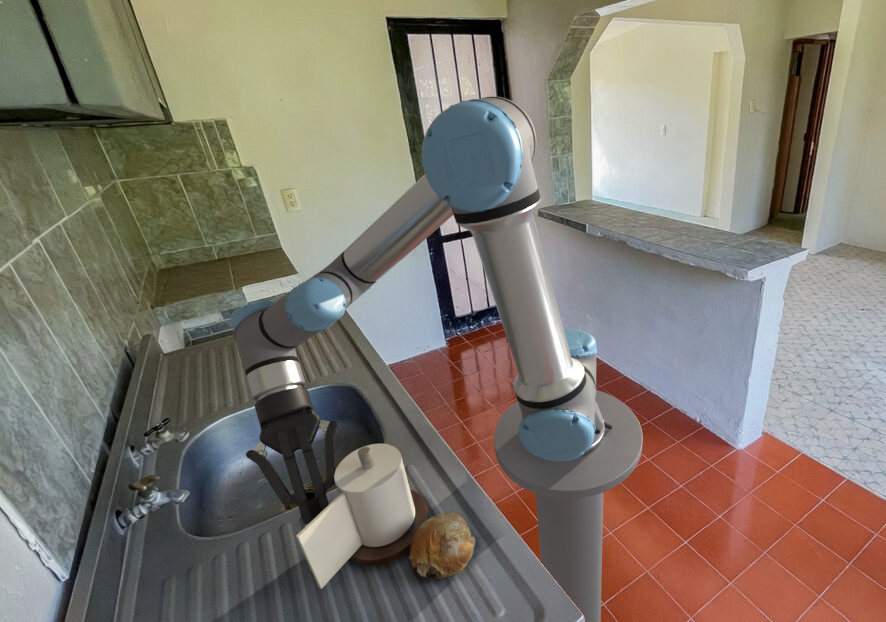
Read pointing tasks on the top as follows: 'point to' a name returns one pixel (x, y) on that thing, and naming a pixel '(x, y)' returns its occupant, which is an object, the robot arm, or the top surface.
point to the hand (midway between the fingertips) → (324, 541)
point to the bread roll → (441, 546)
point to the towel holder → (401, 545)
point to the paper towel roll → (359, 512)
